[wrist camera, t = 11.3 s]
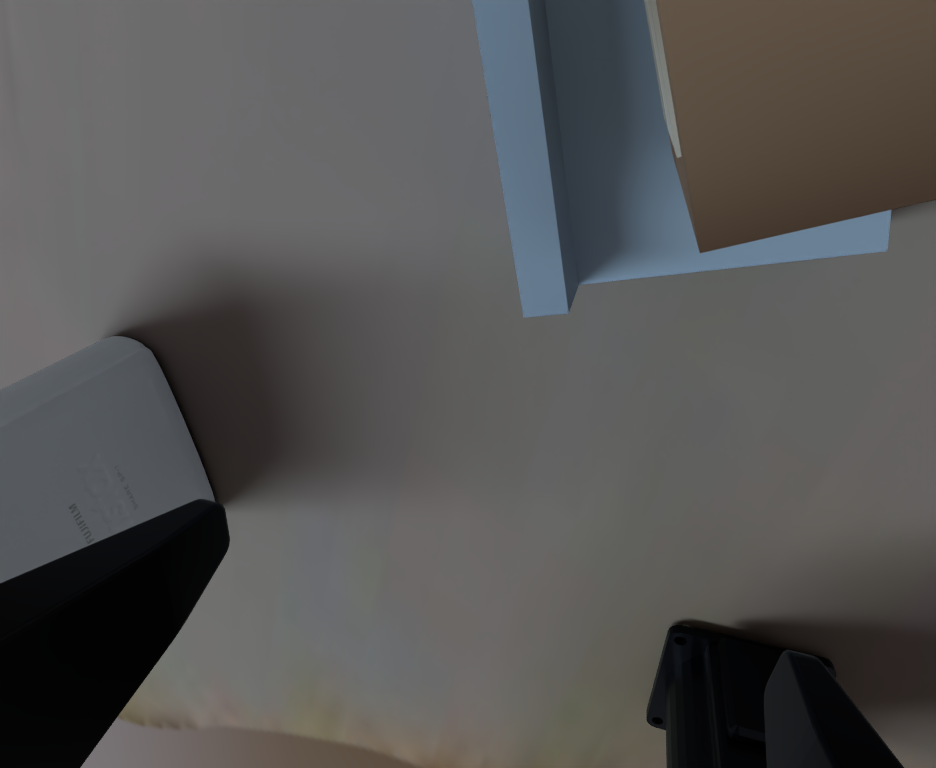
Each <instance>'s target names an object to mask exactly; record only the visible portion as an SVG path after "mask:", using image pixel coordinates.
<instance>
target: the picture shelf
mask: <svg viewBox="0 0 936 768" xmlns="http://www.w3.org/2000/svg"><path fill="white" fill-rule="evenodd" d="M472 2H473V8H474V15H475V21H476V27H477V33H478V39H479V45H480V52H481V58H482V64H483V70H484V76H485V82H486V89H487V95H488V101H489V107H490V113H491V119H492V126H493V132H494V138H495V144H496V150H497V156H498V163H499V169H500V175H501V181H502V187H503V193H504V200H505V206H506V212H507V218H508V224H509V230H510V237H511V243H512V249H513V255H514V261H515V267H516V274H517V280H518V286H519V292H520V298H521V304H522V311H523V317H524V318H525V317H535V316H546V315H557V314H567V313H569V311H570V308H571V305H572V302H573V299H574V297H575V294H576V291H577V288H578V285H581V284H590V283H599V282H608V281H617V280H626V279H636V278H645V277H654V276H663V275H672V274H681V273H690V272H700V271H709V270H718V269H727V268H736V267H745V266H754V265H764V264H773V263H782V262H791V261H800V260H809V259H818V258H828V257H837V256H846V255H855V254H864V253H873V252H882V251H887V250H888V239H889V229H890V219H891V210H888V211H884V212H879V213H875V214H870V215H866V216H862V217H857V218H853V219H849V220H844V221H840V222H835V223H831V224H827V225H822V226H818V227H814V228H809V229H805V230H800V231H796V232H792V233H787V234H783V235H778V236H774V237H770V238H765V239H761V240H757V241H752V242H748V243H743V244H739V245H735V246H730V247H726V248H722V249H717V250H713V251H708V252H704V253H700V252H699V248H698V245H697V241H696V237H695V234H694V230H693V227H692V223H691V219H690V216H689V212H688V209H687V205H686V201H685V198H684V194H683V191H682V187H681V183H680V180H679V176H678V172H677V169H676V165H675V162H674V158H673V154H672V151H671V145H670V139H669V133H668V128H667V125H666V122H665V119H664V114H663V108H662V102H661V96H660V90H659V84H658V79H657V73H656V67H655V61H654V55H653V50H652V44H651V38H650V32H649V26H648V20H647V15H646V9H645V3H644V0H472Z"/></svg>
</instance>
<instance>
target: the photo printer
mask: <svg viewBox="0 0 936 768" xmlns="http://www.w3.org/2000/svg"><path fill="white" fill-rule="evenodd" d="M197 499H206V500H210V501H214V502H215V499H214V495H213V492H212V489H211V486H210V484H209V481H208V478H207V476H206V473H205V470H204V468H203V465H202V463H201V460H200V458H199V455H198V453H197V450H196V448H195V445H194V443H193V440H192V438H191V435H190V433H189V431H188V428H187V426H186V424H185V421H184V419H183V416H182V414H181V412H180V409H179V407H178V405H177V403H176V400H175V398H174V396H173V394H172V391H171V389H170V387H169V385H168V382H167V380H166V378H165V376H164V374H163V372H162V370H161V367H160V366H159V364H158V362H157V360H156V358H155V357H154V355H153V353H152V351H151V350H150V349H149V348H146V347H145V346H144V345H143V344H142V343H140V342H138V341H136V340H134V339H131V338H127V337H122V336H112V337H108V338H105V339H103V340H101V341H99V342H97V343H95V344H93V345H91V346H89V347H87V348H85V349H82V350H80V351H78V352H76V353H74V354H72V355H70V356H68V357H66V358H64V359H62V360H60V361H58V362H56V363H54V364H52V365H50V366H48V367H46V368H44V369H42V370H40V371H38V372H36V373H34V374H32V375H30V376H28V377H26V378H24V379H22V380H20V381H18V382H16V383H14V384H12V385H10V386H8V387H6V388H4V389H2V390H0V583H2V582H4V581H7V580H9V579H11V578H14V577H16V576H18V575H21V574H23V573H25V572H28V571H30V570H32V569H35V568H37V567H39V566H42V565H44V564H46V563H49V562H51V561H54V560H56V559H58V558H61V557H63V556H65V555H68V554H70V553H72V552H75V551H77V550H79V549H82V548H84V547H86V546H89V545H91V544H93V543H96V542H98V541H100V540H103V539H105V538H107V537H110V536H112V535H114V534H117V533H119V532H121V531H124V530H126V529H128V528H131V527H133V526H136V525H138V524H140V523H143V522H145V521H147V520H150V519H152V518H154V517H157V516H159V515H161V514H164V513H166V512H168V511H171V510H173V509H175V508H178V507H180V506H182V505H185V504H187V503H189V502H192V501H194V500H197Z"/></svg>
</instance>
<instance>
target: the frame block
mask: <svg viewBox="0 0 936 768" xmlns="http://www.w3.org/2000/svg"><path fill="white" fill-rule="evenodd" d="M644 3H645V9H646V15H647V20H648V26H649V32H650V38H651V44H652V50H653V55H654V61H655V67H656V73H657V79H658V84H659V90H660V96H661V102H662V108H663V114H664V119H665V122H666V125H667V128H668V133H669V139H670V145H671V151H672V154H673V158H674V162H675V165H676V169H677V172H678V176H679V180H680V183H681V187H682V191H683V194H684V198H685V201H686V205H687V209H688V212H689V216H690V219H691V223H692V227H693V230H694V234H695V237H696V241H697V245H698V248H699V252H700V253H704V252H708V251H713V250H717V249H722V248H726V247H730V246H735V245H739V244H743V243H748V242H752V241H757V240H761V239H765V238H770V237H774V236H778V235H783V234H787V233H792V232H796V231H800V230H805V229H809V228H814V227H818V226H822V225H827V224H831V223H835V222H840V221H844V220H849V219H853V218H857V217H862V216H866V215H870V214H875V213H879V212H884V211H888V210H892V209H897V208H901V207H906V206H910V205H914V204H919V203H923V202H927V201H932V200H936V0H644Z"/></svg>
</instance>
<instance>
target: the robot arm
mask: <svg viewBox="0 0 936 768" xmlns="http://www.w3.org/2000/svg"><path fill="white" fill-rule="evenodd" d="M229 542H230V536H229V530H228V524H227V518H226V512H225V508H224V507H223V505H222V504H220V503H218V502H214V501H210V500H206V499H197V500H194V501H192V502H189V503H187V504H185V505H182V506H180V507H178V508H175V509H173V510H171V511H168V512H166V513H164V514H161V515H159V516H157V517H154V518H152V519H150V520H147V521H145V522H143V523H140V524H138V525H136V526H133V527H131V528H128V529H126V530H124V531H121V532H119V533H117V534H114V535H112V536H110V537H107V538H105V539H103V540H100V541H98V542H96V543H93V544H91V545H89V546H86V547H84V548H82V549H79V550H77V551H75V552H72V553H70V554H68V555H65V556H63V557H61V558H58V559H56V560H54V561H51V562H49V563H46V564H44V565H42V566H39V567H37V568H35V569H32V570H30V571H28V572H25V573H23V574H21V575H18V576H16V577H14V578H11V579H9V580H7V581H4V582H2V583H0V768H80V767H81V766H82V764H83V763H84V762H85V760H86V759H87V758H88V756H89V755H90V754H91V752H92V751H93V749H94V748H95V747H96V745H97V744H98V743H99V741H100V740H101V738H102V737H103V736H104V734H105V733H106V732H107V730H108V729H109V728H110V726H111V725H112V723H113V722H114V721H115V719H116V718H117V717H118V715H119V714H120V713H121V711H122V710H123V708H124V707H125V706H126V704H127V703H128V702H129V700H130V699H131V697H132V696H133V695H134V693H135V692H136V691H137V689H138V688H139V687H140V685H141V684H142V682H143V681H144V680H145V678H146V677H147V676H148V674H149V673H150V671H151V670H152V669H153V667H154V666H155V665H156V663H157V662H158V661H159V659H160V658H161V656H162V655H163V654H164V652H165V651H166V650H167V648H168V647H169V645H170V644H171V643H172V641H173V640H174V638H175V637H176V635H177V634H178V633H179V631H180V630H181V628H182V626H183V625H184V623H185V622H186V620H187V619H188V617H189V615H190V613H191V612H192V610H193V608H194V607H195V605H196V603H197V602H198V600H199V598H200V597H201V595H202V593H203V592H204V590H205V588H206V586H207V585H208V583H209V581H210V580H211V578H212V576H213V575H214V573H215V571H216V570H217V568H218V566H219V565H220V563H221V561H222V560H223V558H224V556H225V554H226V552H227V550H228V547H229ZM679 637H683V638H679ZM835 678H836V672H835V669H834V666H833V664H832V662H831V661H830V660H828V659H825V658H822V657H818V656H814V655H809V654H805V653H800V652H796V651H792V650H787V649H783V648H779V647H774V646H770V645H765V644H761V643H757V642H752V641H748V640H744V639H739V638H735V637H730V636H726V635H722V634H717V633H713V632H709V631H704V630H700V629H696V628H691V627H687V626H682V625H675V626H672V627H670V628H669V630H668V632H667V636H666V640H665V644H664V647H663V651H662V655H661V658H660V662H659V666H658V670H657V673H656V677H655V681H654V685H653V688H652V692H651V696H650V699H649V703H648V707H647V722H648V723H649V724H650V725H651V726H654V727H656V728H660V729H664V730H666V755H667V768H904V767H903V766H902V764H901V763H900V762H899V760H898V759H897V758H896V757H895V755H894V754H893V753H892V751H891V750H890V749H889V748H888V746H887V745H886V744H885V743H884V741H883V740H882V739H881V737H880V736H879V735H878V734H877V732H876V731H875V730H874V728H873V727H872V726H871V725H870V723H869V722H868V721H867V719H866V718H865V717H864V716H863V714H862V713H861V712H860V710H859V709H858V708H857V707H856V705H855V704H854V703H853V701H852V700H851V699H850V698H849V696H848V695H847V694H846V692H845V691H844V690H843V689H842V687H841V686H840V685H839V684H838V682H837V681H836V680H835Z"/></svg>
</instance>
